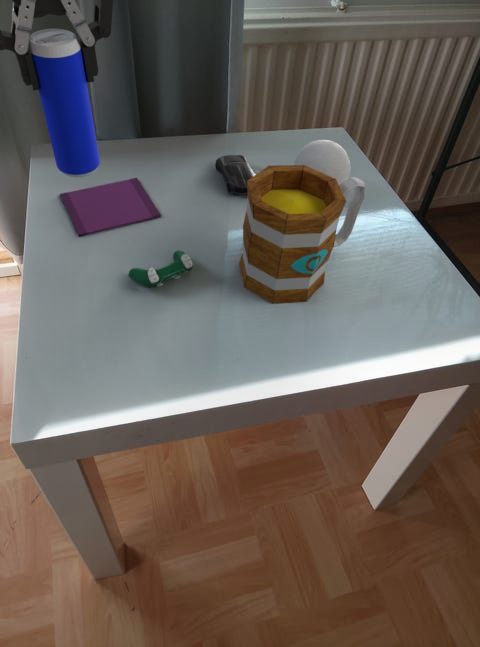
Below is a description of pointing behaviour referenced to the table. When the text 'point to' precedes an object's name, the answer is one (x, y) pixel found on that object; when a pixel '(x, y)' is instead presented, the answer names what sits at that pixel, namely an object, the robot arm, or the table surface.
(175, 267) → the gaming controller
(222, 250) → the table surface
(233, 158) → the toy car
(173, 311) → the table surface
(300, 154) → the ball
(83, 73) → the beverage can
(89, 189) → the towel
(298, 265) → the mug
